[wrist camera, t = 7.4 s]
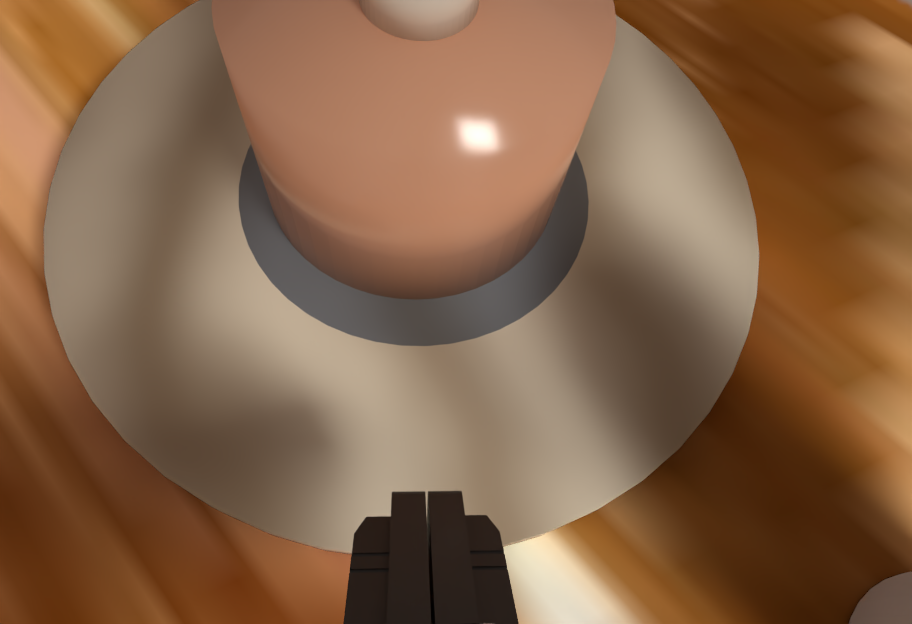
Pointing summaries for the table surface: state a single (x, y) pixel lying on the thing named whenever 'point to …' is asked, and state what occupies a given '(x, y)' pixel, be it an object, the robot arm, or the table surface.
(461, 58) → the knobbed pink canister
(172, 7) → the table surface
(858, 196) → the table surface
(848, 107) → the table surface
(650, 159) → the serving board
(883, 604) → the coffee cup
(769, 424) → the table surface
